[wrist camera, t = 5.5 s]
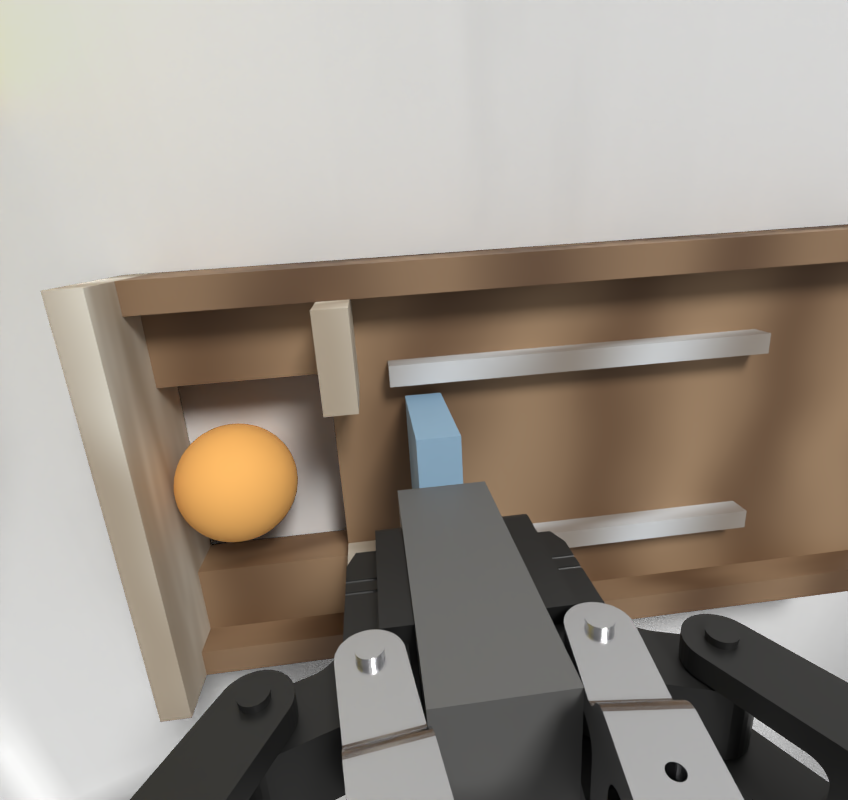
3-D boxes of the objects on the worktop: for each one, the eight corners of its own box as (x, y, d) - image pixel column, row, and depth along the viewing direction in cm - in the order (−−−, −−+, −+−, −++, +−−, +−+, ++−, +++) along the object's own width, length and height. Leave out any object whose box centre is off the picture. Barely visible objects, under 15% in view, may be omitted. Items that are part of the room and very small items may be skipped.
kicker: (458, 390, 18) (587, 610, 8) (464, 526, 20) (578, 860, 9) (386, 397, 18) (420, 632, 7) (398, 534, 20) (440, 883, 9)
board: (870, 222, 20) (1018, 221, 16) (811, 546, 24) (913, 618, 20) (122, 275, 18) (40, 290, 13) (201, 621, 22) (160, 721, 18)
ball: (227, 403, 20) (313, 413, 19) (244, 497, 22) (326, 515, 20) (133, 443, 17) (227, 459, 15) (160, 552, 18) (250, 578, 17)
